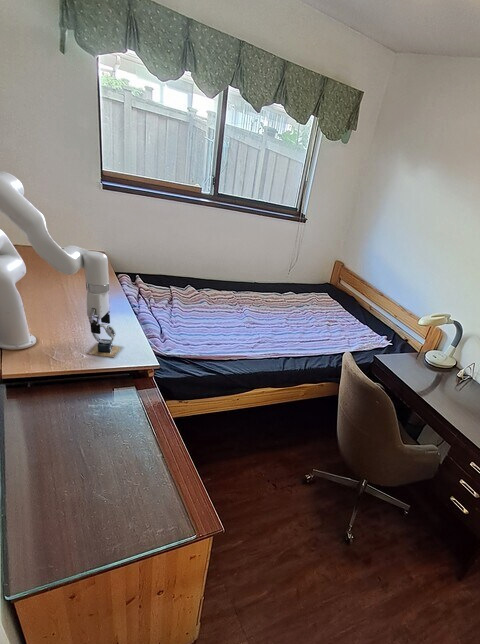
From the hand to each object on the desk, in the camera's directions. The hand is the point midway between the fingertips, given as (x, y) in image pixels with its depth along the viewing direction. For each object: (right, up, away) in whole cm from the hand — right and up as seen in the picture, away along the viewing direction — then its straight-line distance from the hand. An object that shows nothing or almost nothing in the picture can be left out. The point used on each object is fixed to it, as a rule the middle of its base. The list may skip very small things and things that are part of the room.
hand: (100, 327), depth 151 cm
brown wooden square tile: (-2, -8, +6) cm, 10 cm away
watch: (-2, -8, +6) cm, 10 cm away
